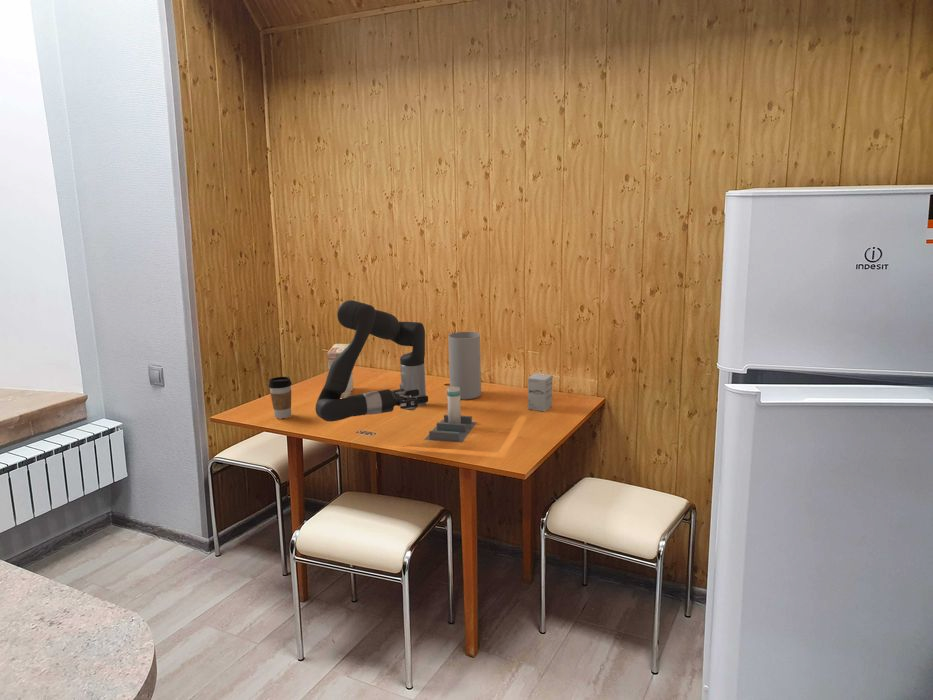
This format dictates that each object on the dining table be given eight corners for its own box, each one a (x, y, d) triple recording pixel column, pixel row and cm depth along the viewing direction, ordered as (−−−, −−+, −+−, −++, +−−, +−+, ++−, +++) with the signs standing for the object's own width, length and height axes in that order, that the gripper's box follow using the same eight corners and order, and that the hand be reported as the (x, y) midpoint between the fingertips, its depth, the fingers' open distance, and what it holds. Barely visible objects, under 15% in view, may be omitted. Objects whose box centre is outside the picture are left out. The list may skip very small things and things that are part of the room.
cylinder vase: (454, 401, 286) (452, 339, 280) (447, 392, 298) (445, 333, 292) (484, 398, 289) (483, 337, 283) (476, 389, 300) (475, 330, 294)
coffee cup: (267, 419, 271) (263, 380, 268) (280, 412, 279) (276, 374, 275) (286, 421, 268) (282, 382, 265) (298, 414, 276) (295, 376, 272)
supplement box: (527, 409, 274) (527, 377, 271) (534, 404, 280) (534, 372, 277) (545, 412, 270) (545, 379, 267) (552, 406, 277) (552, 374, 274)
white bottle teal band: (446, 428, 252) (445, 389, 249) (450, 423, 256) (449, 385, 253) (459, 429, 251) (458, 390, 248) (462, 424, 255) (461, 386, 252)
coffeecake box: (337, 388, 307) (334, 343, 303) (354, 388, 307) (351, 343, 302) (329, 399, 293) (326, 352, 288) (347, 399, 293) (344, 352, 288)
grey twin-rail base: (424, 443, 243) (423, 432, 242) (442, 423, 261) (441, 413, 260) (461, 446, 239) (461, 435, 238) (477, 426, 258) (476, 415, 257)
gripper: (383, 396, 232) (430, 389, 239) (370, 386, 245) (415, 379, 251) (384, 419, 234) (431, 411, 240) (371, 407, 246) (416, 400, 253)
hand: (423, 395), depth 246 cm, fingers open, 8 cm apart
